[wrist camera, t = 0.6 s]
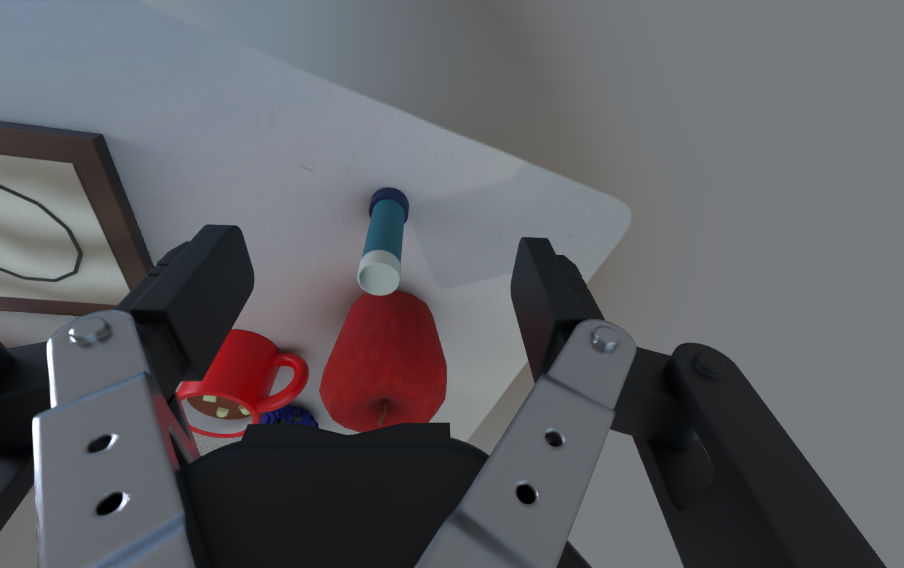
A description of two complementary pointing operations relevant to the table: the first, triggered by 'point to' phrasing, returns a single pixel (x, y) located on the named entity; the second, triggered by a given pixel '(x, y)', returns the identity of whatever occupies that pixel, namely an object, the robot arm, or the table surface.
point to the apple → (385, 365)
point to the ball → (289, 417)
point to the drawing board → (64, 224)
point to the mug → (240, 386)
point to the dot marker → (383, 242)
